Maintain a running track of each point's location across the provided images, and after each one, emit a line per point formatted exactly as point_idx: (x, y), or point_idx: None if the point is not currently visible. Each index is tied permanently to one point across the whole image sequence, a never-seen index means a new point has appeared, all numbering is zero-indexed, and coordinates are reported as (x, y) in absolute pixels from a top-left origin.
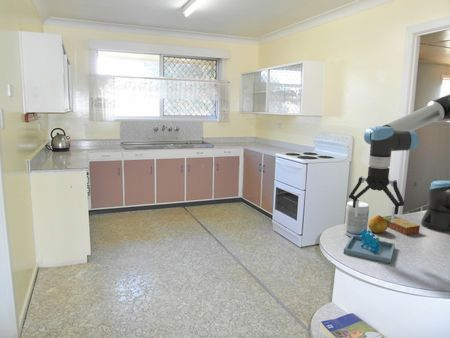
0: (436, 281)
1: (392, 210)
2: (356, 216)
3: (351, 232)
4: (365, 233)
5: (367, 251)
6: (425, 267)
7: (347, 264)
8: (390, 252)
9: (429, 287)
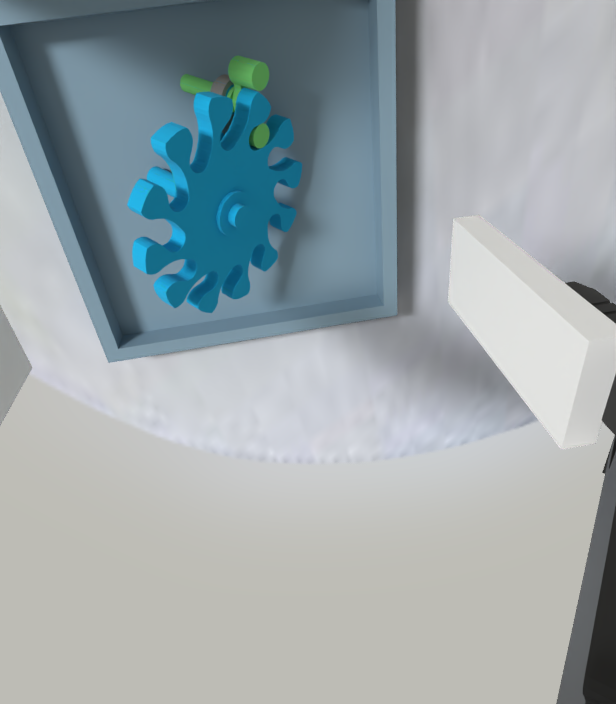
0: None
1: (525, 400)
2: (30, 367)
3: None
4: (168, 219)
5: None
6: (578, 199)
7: (203, 441)
8: (383, 207)
9: None
